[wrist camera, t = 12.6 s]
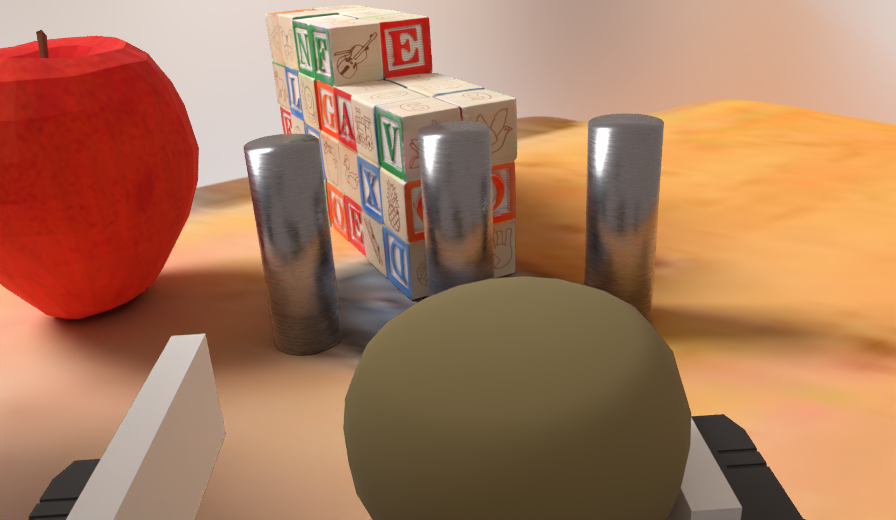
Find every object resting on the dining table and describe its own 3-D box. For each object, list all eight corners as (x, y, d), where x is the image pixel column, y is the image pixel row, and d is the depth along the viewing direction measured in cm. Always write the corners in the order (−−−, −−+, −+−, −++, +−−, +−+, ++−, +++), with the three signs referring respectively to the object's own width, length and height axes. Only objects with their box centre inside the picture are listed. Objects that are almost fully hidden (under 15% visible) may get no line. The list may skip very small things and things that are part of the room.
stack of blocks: (520, 275, 40) (517, 31, 35) (411, 305, 38) (390, 46, 33) (370, 173, 58) (353, 0, 53) (288, 188, 55) (263, 9, 50)
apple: (184, 358, 34) (115, 44, 28) (-83, 371, 34) (-203, 60, 28) (245, 251, 44) (204, 9, 39) (43, 261, 45) (-26, 21, 39)
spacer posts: (182, 629, 21) (105, 334, 17) (282, 318, 37) (253, 132, 33) (1100, 561, 21) (1218, 261, 17) (802, 284, 37) (831, 98, 33)
